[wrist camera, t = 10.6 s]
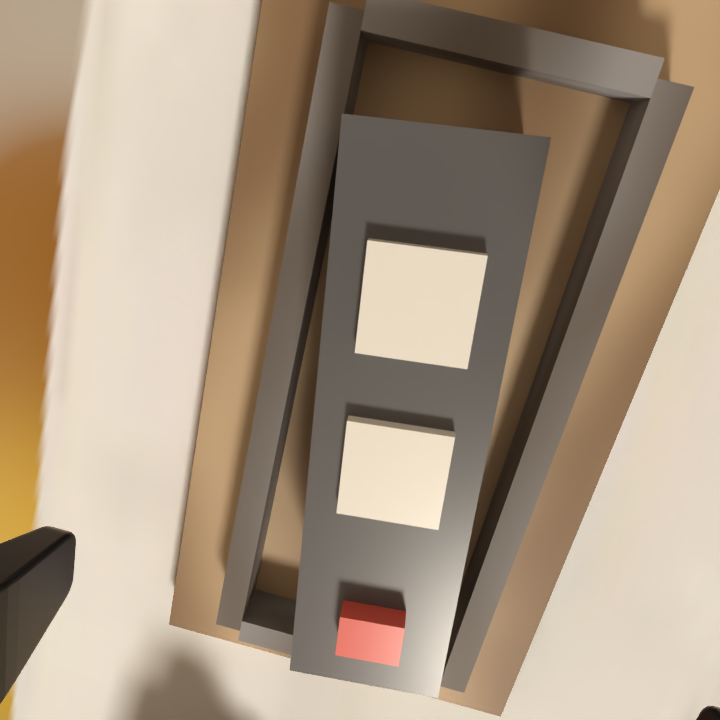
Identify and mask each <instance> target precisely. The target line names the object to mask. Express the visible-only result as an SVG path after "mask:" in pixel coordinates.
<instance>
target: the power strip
mask: <svg viewBox="0 0 720 720" xmlns="http://www.w3.org/2000/svg"><path fill="white" fill-rule="evenodd" d="M550 141H551V137H544V136H535V135H526V134H518V133H509V132H500V131H491V130H483V129H474V128H465V127H456V126H448V125H439V124H430V123H421V122H412V121H404V120H395V119H386V118H377V117H369V116H360V115H351V114H342V117H341V127H340V138H339V149H338V159H337V170H336V181H335V192H334V202H333V213H332V224H331V234H330V245H329V256H328V267H327V277H326V288H325V299H324V309H323V320H322V331H321V342H320V352H319V363H318V374H317V385H316V395H315V406H314V417H313V427H312V438H311V449H310V460H309V470H308V481H307V492H306V502H305V513H304V524H303V535H302V545H301V556H300V567H299V577H298V588H297V599H296V610H295V620H294V631H293V642H292V652H291V663H290V670H291V671H297V672H302V673H307V674H313V675H318V676H323V677H329V678H334V679H339V680H345V681H350V682H355V683H361V684H366V685H371V686H377V687H382V688H387V689H393V690H398V691H403V692H409V693H414V694H419V695H425V696H430V697H435V698H438V696H439V691H440V686H441V681H442V676H443V671H444V666H445V661H446V656H447V651H448V646H449V641H450V636H451V631H452V626H453V621H454V616H455V612H456V607H457V602H458V597H459V592H460V587H461V582H462V577H463V572H464V567H465V562H466V557H467V552H468V547H469V542H470V537H471V532H472V527H473V522H474V517H475V512H476V508H477V503H478V498H479V493H480V488H481V483H482V478H483V473H484V468H485V463H486V458H487V453H488V448H489V443H490V438H491V433H492V428H493V423H494V418H495V413H496V409H497V404H498V399H499V394H500V389H501V384H502V379H503V374H504V369H505V364H506V359H507V354H508V349H509V344H510V339H511V334H512V329H513V324H514V319H515V314H516V310H517V305H518V300H519V295H520V290H521V285H522V280H523V275H524V270H525V265H526V260H527V255H528V250H529V245H530V240H531V235H532V230H533V225H534V220H535V215H536V211H537V206H538V201H539V196H540V191H541V186H542V181H543V176H544V171H545V166H546V161H547V156H548V151H549V146H550Z"/></svg>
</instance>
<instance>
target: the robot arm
mask: <svg viewBox="0 0 720 720" xmlns="http://www.w3.org/2000/svg"><path fill="white" fill-rule="evenodd" d="M75 546H76V539H75V536H74V534H73V533H71V532H69V531H66V530H62V529H58V528H54V527H50V526H45V527H41V528H38V529H36V530H33V531H31V532H29V533H26V534H23V535H21V536H19V537H16V538H13V539H11V540H8V541H6V542H3V543H1V544H0V703H1V702H2V701H3V699H4V698H5V696H6V695H7V693H8V692H9V690H10V689H11V687H12V685H13V684H14V682H15V681H16V679H17V677H18V676H19V674H20V673H21V671H22V669H23V668H24V666H25V664H26V663H27V661H28V659H29V658H30V656H31V654H32V653H33V651H34V649H35V648H36V646H37V645H38V643H39V641H40V640H41V638H42V636H43V635H44V633H45V631H46V630H47V628H48V626H49V625H50V623H51V621H52V620H53V618H54V617H55V615H56V613H57V612H58V610H59V608H60V607H61V605H62V603H63V602H64V600H65V598H66V597H67V595H68V593H69V591H70V588H71V585H72V581H73V573H74V560H75ZM696 720H720V708H719V707H715V706H707V707H705V708H704V709H703V710H702V711H701V712H700V714H699V716H698V718H697V719H696Z"/></svg>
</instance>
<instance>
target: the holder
mask: <svg viewBox="0 0 720 720" xmlns="http://www.w3.org/2000/svg"><path fill="white" fill-rule="evenodd" d="M342 114H351V115H360V116H369V117H377V118H386V119H395V120H404V121H412V122H421V123H430V124H439V125H448V126H456V127H465V128H474V129H483V130H491V131H500V132H509V133H518V134H526V135H535V136H544V137H551V141H550V146H549V151H548V156H547V161H546V166H545V171H544V176H543V181H542V186H541V191H540V196H539V201H538V206H537V211H536V215H535V220H534V225H533V230H532V235H531V240H530V245H529V250H528V255H527V260H526V265H525V270H524V275H523V280H522V285H521V290H520V295H519V300H518V305H517V310H516V314H515V319H514V324H513V329H512V334H511V339H510V344H509V349H508V354H507V359H506V364H505V369H504V374H503V379H502V384H501V389H500V394H499V399H498V404H497V409H496V413H495V418H494V423H493V428H492V433H491V438H490V443H489V448H488V453H487V458H486V463H485V468H484V473H483V478H482V483H481V488H480V493H479V498H478V503H477V508H476V512H475V517H474V522H473V527H472V532H471V537H470V542H469V547H468V552H467V557H466V562H465V567H464V572H463V577H462V582H461V587H460V592H459V597H458V602H457V607H456V612H455V616H454V621H453V626H452V631H451V636H450V641H449V646H448V651H447V656H446V661H445V666H444V671H443V676H442V681H441V686H440V691H439V696H438V698H436V699H440V700H443V701H447V702H450V703H454V704H458V705H461V706H465V707H468V708H472V709H476V710H479V711H483V712H486V713H490V714H494V715H497V716H501V714H502V712H503V709H504V707H505V705H506V702H507V700H508V697H509V695H510V692H511V690H512V688H513V685H514V683H515V680H516V678H517V676H518V673H519V671H520V668H521V666H522V664H523V661H524V659H525V656H526V654H527V652H528V649H529V647H530V644H531V642H532V640H533V637H534V635H535V632H536V630H537V628H538V625H539V623H540V620H541V618H542V615H543V613H544V611H545V608H546V606H547V603H548V601H549V599H550V596H551V594H552V591H553V589H554V587H555V584H556V582H557V579H558V577H559V575H560V572H561V570H562V567H563V565H564V563H565V560H566V558H567V555H568V553H569V550H570V548H571V546H572V543H573V541H574V538H575V536H576V534H577V531H578V529H579V526H580V524H581V522H582V519H583V517H584V514H585V512H586V510H587V507H588V505H589V502H590V500H591V498H592V495H593V493H594V490H595V488H596V485H597V483H598V481H599V478H600V476H601V473H602V471H603V469H604V466H605V464H606V461H607V459H608V457H609V454H610V452H611V449H612V447H613V445H614V442H615V440H616V437H617V435H618V433H619V430H620V428H621V425H622V423H623V420H624V418H625V416H626V413H627V411H628V408H629V406H630V404H631V401H632V399H633V396H634V394H635V392H636V389H637V387H638V384H639V382H640V380H641V377H642V375H643V372H644V370H645V368H646V365H647V363H648V360H649V358H650V356H651V353H652V351H653V348H654V346H655V343H656V341H657V339H658V336H659V334H660V331H661V329H662V327H663V324H664V322H665V319H666V317H667V315H668V312H669V310H670V307H671V305H672V303H673V300H674V298H675V295H676V293H677V291H678V288H679V286H680V283H681V281H682V278H683V276H684V274H685V271H686V269H687V266H688V264H689V262H690V259H691V257H692V254H693V252H694V250H695V247H696V245H697V242H698V240H699V238H700V235H701V233H702V230H703V228H704V226H705V223H706V221H707V218H708V216H709V213H710V211H711V209H712V206H713V204H714V201H715V199H716V197H717V194H718V192H719V189H720V0H262V5H261V11H260V18H259V25H258V32H257V38H256V45H255V52H254V58H253V65H252V72H251V79H250V85H249V92H248V99H247V105H246V112H245V119H244V126H243V132H242V139H241V146H240V152H239V159H238V166H237V173H236V179H235V186H234V193H233V199H232V206H231V213H230V220H229V226H228V233H227V240H226V246H225V253H224V260H223V267H222V273H221V280H220V287H219V293H218V300H217V307H216V314H215V320H214V327H213V334H212V340H211V347H210V354H209V361H208V367H207V374H206V381H205V387H204V394H203V401H202V408H201V414H200V421H199V428H198V434H197V441H196V448H195V455H194V461H193V468H192V475H191V481H190V488H189V495H188V502H187V508H186V515H185V522H184V528H183V535H182V542H181V549H180V555H179V562H178V569H177V575H176V582H175V589H174V596H173V602H172V609H171V616H170V622H169V625H173V626H177V627H180V628H184V629H187V630H191V631H195V632H198V633H202V634H205V635H209V636H213V637H216V638H220V639H223V640H227V641H231V642H234V643H238V644H241V645H245V646H249V647H252V648H256V649H259V650H263V651H267V652H270V653H274V654H277V655H281V656H285V657H288V658H291V652H292V642H293V631H294V620H295V610H296V599H297V588H298V577H299V567H300V556H301V545H302V535H303V524H304V513H305V502H306V492H307V481H308V470H309V460H310V449H311V438H312V427H313V417H314V406H315V395H316V385H317V374H318V363H319V352H320V342H321V331H322V320H323V309H324V299H325V288H326V277H327V267H328V256H329V245H330V234H331V224H332V213H333V202H334V192H335V181H336V170H337V159H338V149H339V138H340V127H341V117H342ZM429 697H430V696H429ZM432 698H435V697H432Z"/></svg>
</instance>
